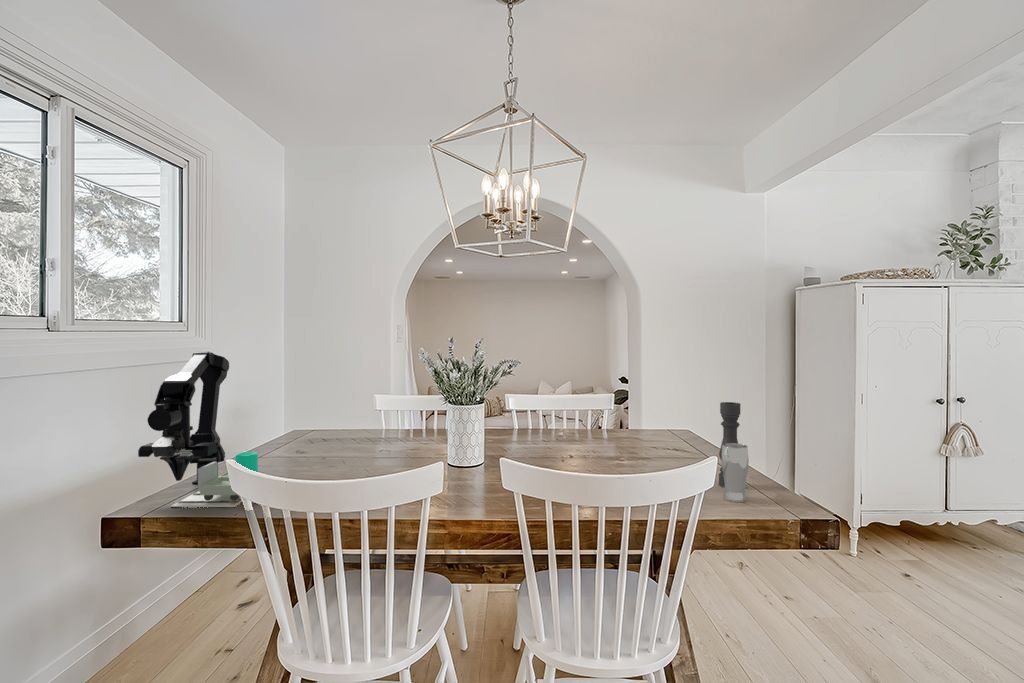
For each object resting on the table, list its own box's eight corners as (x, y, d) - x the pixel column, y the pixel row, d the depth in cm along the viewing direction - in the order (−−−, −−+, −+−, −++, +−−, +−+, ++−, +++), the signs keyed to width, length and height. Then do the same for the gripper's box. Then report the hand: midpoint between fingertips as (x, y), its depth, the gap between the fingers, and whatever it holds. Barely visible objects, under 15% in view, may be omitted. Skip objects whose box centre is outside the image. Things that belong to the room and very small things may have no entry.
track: (198, 493, 158) (198, 490, 158) (257, 493, 158) (256, 490, 158) (170, 507, 145) (170, 505, 145) (234, 507, 145) (234, 504, 145)
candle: (249, 492, 159) (248, 451, 159) (231, 491, 160) (230, 450, 160) (262, 486, 165) (262, 446, 164) (244, 485, 166) (244, 446, 166)
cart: (215, 490, 156) (215, 460, 156) (254, 490, 156) (254, 460, 156) (196, 501, 146) (195, 469, 146) (237, 501, 146) (237, 469, 146)
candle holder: (743, 485, 165) (744, 403, 165) (736, 489, 160) (737, 405, 160) (723, 481, 169) (723, 401, 169) (715, 485, 165) (716, 403, 164)
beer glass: (748, 497, 153) (748, 444, 153) (747, 504, 147) (748, 449, 147) (722, 494, 156) (722, 442, 156) (720, 500, 150) (720, 446, 150)
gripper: (123, 429, 142) (124, 489, 143) (196, 429, 143) (196, 488, 143) (150, 422, 154) (151, 477, 154) (217, 422, 154) (218, 477, 154)
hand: (178, 480), depth 151 cm, fingers closed
